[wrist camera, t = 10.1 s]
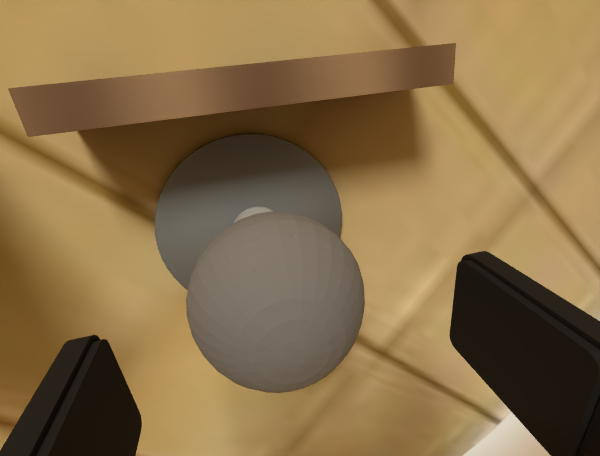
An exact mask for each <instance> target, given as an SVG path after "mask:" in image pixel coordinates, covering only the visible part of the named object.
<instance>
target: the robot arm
mask: <svg viewBox="0 0 600 456" xmlns="http://www.w3.org/2000/svg"><path fill="white" fill-rule="evenodd" d="M450 340H451V343H452V345H453V346H454V348H455V349H456V350H457V351H458V352H459V353H460V354H461V356H462V357H463V358H464V359H465V360H466V361H467V362H468V363H469V365H470V366H471V367H472V368H473V369H474V370H475V371H476V372H477V373H478V375H479V376H480V377H481V378H482V379H483V380H484V381H485V382H486V384H487V385H488V386H489V387H490V388H491V389H492V390H493V391H494V393H495V394H496V395H497V396H498V397H499V398H500V399H501V400H502V401H503V403H504V404H505V405H506V406H507V407H508V408H509V409H510V410H511V412H512V413H513V414H514V415H515V416H516V417H517V418H518V419H519V420H520V422H521V423H522V424H523V425H524V426H525V427H526V428H527V429H528V430H529V432H530V433H531V434H532V435H533V436H534V437H535V438H536V439H537V441H538V442H539V443H540V444H541V445H542V446H543V447H544V448H545V449H546V451H548V453H549V454H550V455H551V456H600V321H598V320H597V319H595V318H594V317H592V316H590V315H589V314H587V313H586V312H584V311H582V310H581V309H579V308H577V307H576V306H574V305H573V304H571V303H569V302H568V301H566V300H565V299H563V298H561V297H560V296H558V295H557V294H555V293H553V292H552V291H550V290H549V289H547V288H545V287H544V286H542V285H540V284H539V283H537V282H536V281H534V280H532V279H531V278H529V277H528V276H526V275H524V274H523V273H521V272H520V271H518V270H516V269H515V268H513V267H511V266H510V265H508V264H507V263H505V262H503V261H502V260H500V259H499V258H497V257H495V256H494V255H492V254H491V253H489V252H486V251H482V252H477V253H472V254H468V255H465V256H463V258H462V260H461V262H459V263H458V265H457V273H456V282H455V291H454V300H453V309H452V318H451V327H450ZM141 426H142V422H141V415H140V412H139V410H138V408H137V405H136V403H135V401H134V399H133V396H132V394H131V392H130V390H129V387H128V385H127V383H126V381H125V378H124V376H123V374H122V372H121V369H120V367H119V365H118V363H117V360H116V358H115V356H114V354H113V351H112V349H111V347H110V345H109V343H108V341H107V340H106V339H103V340H100V338H99V337H98V336H96V335H92V336H87V337H83V338H78V339H73V340H69V341H67V342H66V343H65V344H64V345H63V347H62V349H61V350H60V352H59V354H58V355H57V357H56V359H55V360H54V362H53V364H52V365H51V367H50V369H49V370H48V372H47V374H46V375H45V377H44V379H43V380H42V382H41V384H40V385H39V387H38V389H37V390H36V392H35V394H34V395H33V397H32V399H31V400H30V402H29V404H28V405H27V407H26V409H25V410H24V412H23V414H22V415H21V417H20V419H19V420H18V422H17V424H16V425H15V427H14V429H13V430H12V432H11V434H10V435H9V437H8V439H7V440H6V442H5V444H4V445H3V447H2V449H1V450H0V456H135V455H136V450H137V446H138V442H139V437H140V433H141Z"/></svg>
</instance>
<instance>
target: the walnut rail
mask: <svg viewBox="0 0 600 456" xmlns="http://www.w3.org/2000/svg"><path fill="white" fill-rule="evenodd" d="M455 49H456V43H452V44H442V45H432V46H422V47H412V48H403V49H393V50H383V51H373V52H363V53H353V54H343V55H334V56H324V57H314V58H304V59H294V60H284V61H275V62H265V63H255V64H245V65H235V66H225V67H215V68H206V69H196V70H186V71H176V72H166V73H156V74H147V75H137V76H127V77H117V78H107V79H97V80H87V81H78V82H68V83H58V84H48V85H38V86H28V87H19V88H9V89H8V90H9V92H10V95H11V97H12V100H13V102H14V104H15V107H16V109H17V112H18V114H19V116H20V119H21V121H22V124H23V126H24V129H25V131H26V133H27V136H28V137H32V136H40V135H48V134H56V133H64V132H72V131H80V130H88V129H96V128H104V127H112V126H120V125H128V124H136V123H144V122H152V121H160V120H168V119H176V118H184V117H192V116H200V115H208V114H216V113H224V112H232V111H240V110H248V109H255V108H263V107H271V106H279V105H287V104H295V103H303V102H311V101H319V100H327V99H335V98H343V97H351V96H359V95H367V94H375V93H383V92H391V91H399V90H407V89H415V88H423V87H431V86H439V85H447V84H453V80H454V65H455Z"/></svg>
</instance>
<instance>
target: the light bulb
mask: <svg viewBox="0 0 600 456" xmlns="http://www.w3.org/2000/svg"><path fill="white" fill-rule="evenodd" d="M186 305H187V318H188V322H189V326H190V329H191V333H192V336H193V338H194V340H195V342H196V344H197V346H198V347H199V349H200V351H201V353H202V354H203V356H204V357H205V358H206V359H207V360H208V361H209V362H210V364H211V365H212V366H213V367H214V368H215V369H216V370H217V371H218V372H220V373H221V374H222V375H224V376H225V377H227V378H228V379H230V380H231V381H233V382H234V383H236V384H239V385H241V386H244V387H246V388H249V389H254V390H259V391H263V392H273V393H281V392H290V391H294V390H298V389H302V388H305V387H307V386H309V385H312V384H314V383H316V382H318V381H319V380H321V379H322V378H324V377H326V376H327V375H328V374H329V373H330V372H332V371H333V370H334V369H335V368H336V367H337V366H338V365H339V364H340V362H341V361H342V360H343V359H344V358H345V356H346V355H347V354H348V352H349V351H350V349H351V348H352V346H353V344H354V342H355V340H356V337H357V335H358V332H359V330H360V327H361V324H362V318H363V313H364V305H365V300H364V285H363V280H362V276H361V272H360V269H359V266H358V263H357V262H356V260H355V258H354V256H353V254H352V252H351V251H350V249H349V248H348V247H347V246H346V245H345V244H344V243H343V241H342V240H341V239H340V238H339V237H338V236H337V235H336V234H335V233H334V232H332V231H331V230H329V229H328V228H327V227H325V226H324V225H322V224H321V223H319V222H317V221H315V220H313V219H310V218H308V217H306V216H303V215H298V214H294V213H289V212H274V211H272V210H271V209H269V208H266V207H251V208H249V209H246V210H245V211H243V212H242V213H240V214H239V215H238V217H237V218H236V219H235V221H234V223H233V224H232V225H230V226H228V227H227V228H225V229H224V230H223V231H222V232H221V233H219V234H218V235H217V236H216V237H215V238H214V239H213V240H212V241H211V242H210V243H209V245H208V246H207V247H206V249H205V250H204V251H203V253H202V254H201V255H200V257H199V259H198V261H197V264H196V266H195V268H194V270H193V272H192V275H191V278H190V283H189V287H188V292H187V299H186Z"/></svg>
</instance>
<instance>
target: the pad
mask: <svg viewBox="0 0 600 456" xmlns="http://www.w3.org/2000/svg"><path fill="white" fill-rule="evenodd" d="M251 207H266V208H269V209H271V210H272V211H274V212H289V213H294V214H298V215H303V216H306V217H308V218H310V219H313V220H315V221H317V222H319V223H321V224H322V225H324V226H325V227H327V228H328V229H329V230H331V231H332V232H334V233H335V234H336V235H337V236H338V237H339V238H340V233H341V226H342V212H341V204H340V200H339V196H338V192H337V190H336V188H335V185H334V183H333V181H332V179H331V178H330V176H329V174H328V173H327V171H326V170H325V169H324V168H323V166H322V165H321V164H320V163H319V162H318V161H317V160H316V159H315V158H314V157H313V156H312V155H310V154H309V153H307V152H306V151H305V150H303V149H302V148H300V147H298V146H296V145H294V144H292V143H291V142H289V141H286V140H283V139H280V138H277V137H273V136H268V135H263V134H239V135H233V136H228V137H224V138H221V139H218V140H215V141H212V142H210V143H208V144H206V145H204V146H202V147H200V148H199V149H197V150H196V151H194V152H193V153H192V154H190V155H189V156H188V157H187V158H186V159H185V160H183V161H182V162H181V163H180V164H179V165H178V167H177V168H176V169H175V170H174V172H173V173H172V174H171V176H170V177H169V179H168V181H167V182H166V184H165V186H164V188H163V190H162V192H161V195H160V197H159V200H158V204H157V208H156V214H155V237H156V241H157V245H158V249H159V252H160V254H161V257H162V259H163V261H164V263H165V265H166V267H167V268H168V270H169V271H170V272H171V274H172V275H173V276H174V278H175V279H176V280H177V281H178V282H179V283H180V284H181V285H182V286H183V287H184V288H186V289H187V290H188V287H189V283H190V278H191V275H192V272H193V270H194V268H195V266H196V264H197V261H198V259H199V257H200V255H201V254H202V253H203V251H204V250H205V249H206V247H207V246H208V245H209V243H210V242H211V241H212V240H213V239H214V238H215V237H216V236H217V235H218V234H219V233H221V232H222V231H223V230H224V229H225V228H227V227H228V226H230V225H232V224H233V223H234V221H235V219H236V218H237V217H238V215H239V214H240V213H242V212H243V211H245V210H246V209H249V208H251Z"/></svg>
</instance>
